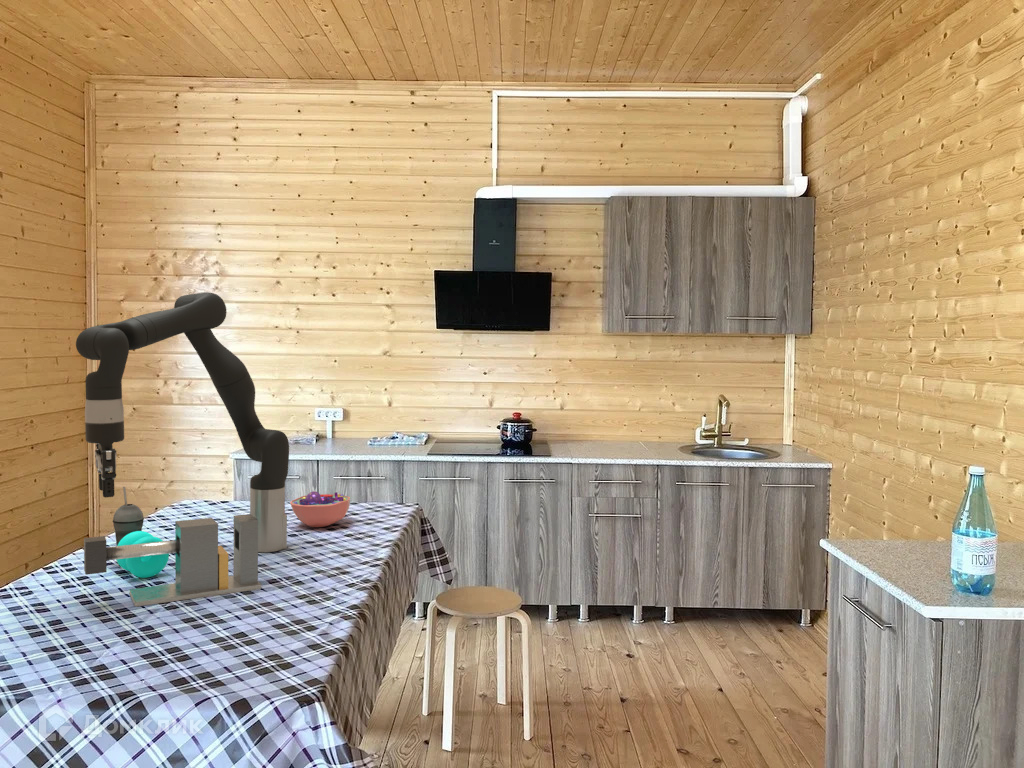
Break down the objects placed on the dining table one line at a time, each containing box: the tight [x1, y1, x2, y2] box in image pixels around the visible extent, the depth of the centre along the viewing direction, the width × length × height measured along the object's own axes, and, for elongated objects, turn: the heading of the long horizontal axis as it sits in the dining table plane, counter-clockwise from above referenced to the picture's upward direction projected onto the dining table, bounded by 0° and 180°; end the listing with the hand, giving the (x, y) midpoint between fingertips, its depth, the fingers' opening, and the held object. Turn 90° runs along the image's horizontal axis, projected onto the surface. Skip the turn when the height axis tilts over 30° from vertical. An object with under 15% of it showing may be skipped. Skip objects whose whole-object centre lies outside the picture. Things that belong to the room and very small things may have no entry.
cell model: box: [289, 490, 351, 528], centre depth 250 cm, size 17×20×11 cm
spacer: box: [218, 545, 229, 589], centre depth 187 cm, size 2×8×8 cm, turn 32°
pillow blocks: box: [128, 513, 263, 608], centre depth 184 cm, size 27×10×16 cm, turn 122°
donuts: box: [115, 530, 170, 579], centre depth 196 cm, size 10×10×10 cm
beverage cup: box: [112, 486, 145, 568], centre depth 203 cm, size 7×7×20 cm
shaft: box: [83, 535, 180, 576], centre depth 178 cm, size 26×4×7 cm, turn 122°
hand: (106, 493), depth 175 cm, fingers open, 8 cm apart
